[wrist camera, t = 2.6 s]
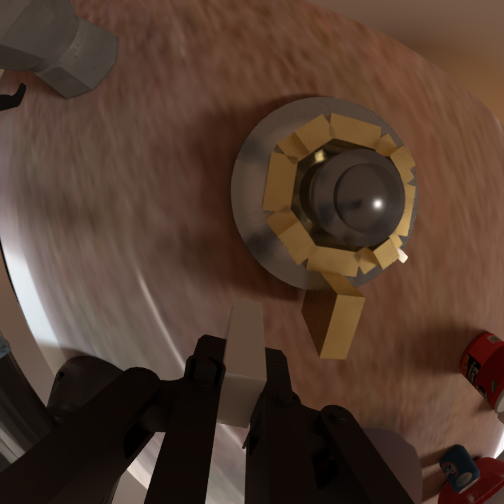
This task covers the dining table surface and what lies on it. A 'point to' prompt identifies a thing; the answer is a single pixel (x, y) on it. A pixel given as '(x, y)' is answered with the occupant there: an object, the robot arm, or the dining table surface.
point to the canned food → (486, 368)
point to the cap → (320, 190)
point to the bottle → (500, 416)
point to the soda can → (459, 469)
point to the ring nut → (326, 253)
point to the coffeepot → (53, 47)
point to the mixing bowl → (477, 484)
